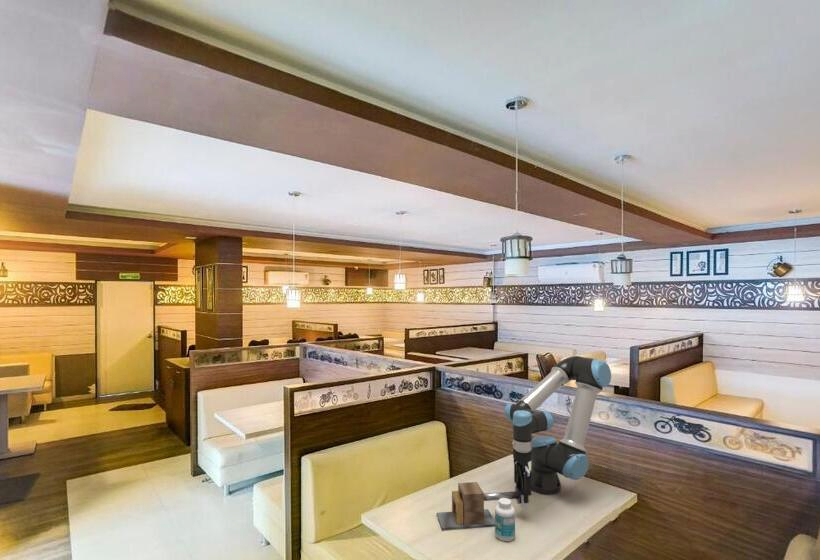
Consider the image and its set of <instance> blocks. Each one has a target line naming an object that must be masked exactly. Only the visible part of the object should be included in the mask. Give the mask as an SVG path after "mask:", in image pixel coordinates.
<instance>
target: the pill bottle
mask: <svg viewBox="0 0 820 560" xmlns="http://www.w3.org/2000/svg"><path fill="white" fill-rule="evenodd" d="M511 500H512V499H507V498H500V499H499V500H498V504H497V505H496V506H495V508H494V520H495V527H494V535H495V537H496V539H498V540H500V541H502V542H512V541H513V540H514V539H515V537H516V510H515V509H516V508H514V506H513V505H512V501H511Z"/></svg>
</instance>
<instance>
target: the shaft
mask: <svg viewBox="0 0 820 560" xmlns="http://www.w3.org/2000/svg"><path fill="white" fill-rule="evenodd" d="M483 493H484V502H490V501H499V499H500V498H507V499H509V500H516V502H517V501H518V502H519V504H518V505H521V493H522V486H516V485H515V488H514V491H513V490H512V491H497V492H483ZM529 503H530V495H528V504H529Z"/></svg>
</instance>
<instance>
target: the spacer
mask: <svg viewBox="0 0 820 560" xmlns="http://www.w3.org/2000/svg"><path fill="white" fill-rule="evenodd" d="M451 512H452V515H453V517H454V519H455V522H456V524H457V525H463V501H462V499H461V496H460V494H459V492H458V490H451Z"/></svg>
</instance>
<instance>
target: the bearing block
mask: <svg viewBox="0 0 820 560" xmlns="http://www.w3.org/2000/svg"><path fill="white" fill-rule="evenodd" d="M457 485H458V486H457V489H458V490H457V491H458V492H459V494H460V496H461V499H462V501H463V525H457V524H456V522H455V519H454V517H453V515H452V511H443V512H436V517H437V520H438V523H439V526H440V529H441V531H453V530H455V531H456V530H467V529H468V530H469V529H480V528H495V517H494V516H493V515H492V514H491V512H490V510H489V509H488V508H485V501H484V493H485V492H484V491H483V490H482V488H481V486H480V485H479V483H478V482H477V481H473V482H469V481H468V482H458V484H457Z"/></svg>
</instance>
